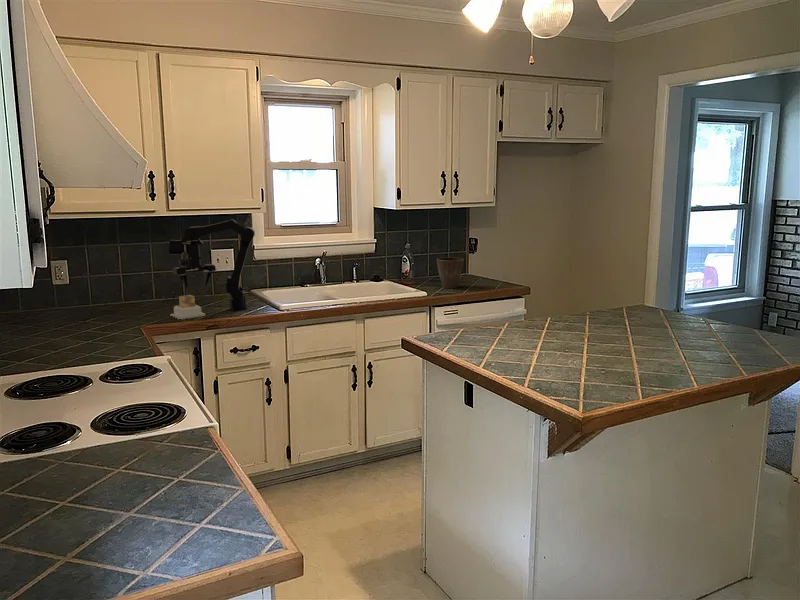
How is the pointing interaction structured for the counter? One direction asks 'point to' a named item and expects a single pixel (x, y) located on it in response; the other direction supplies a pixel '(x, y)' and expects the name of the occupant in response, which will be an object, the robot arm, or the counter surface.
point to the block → (186, 301)
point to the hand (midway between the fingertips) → (195, 287)
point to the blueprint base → (187, 312)
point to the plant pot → (450, 271)
